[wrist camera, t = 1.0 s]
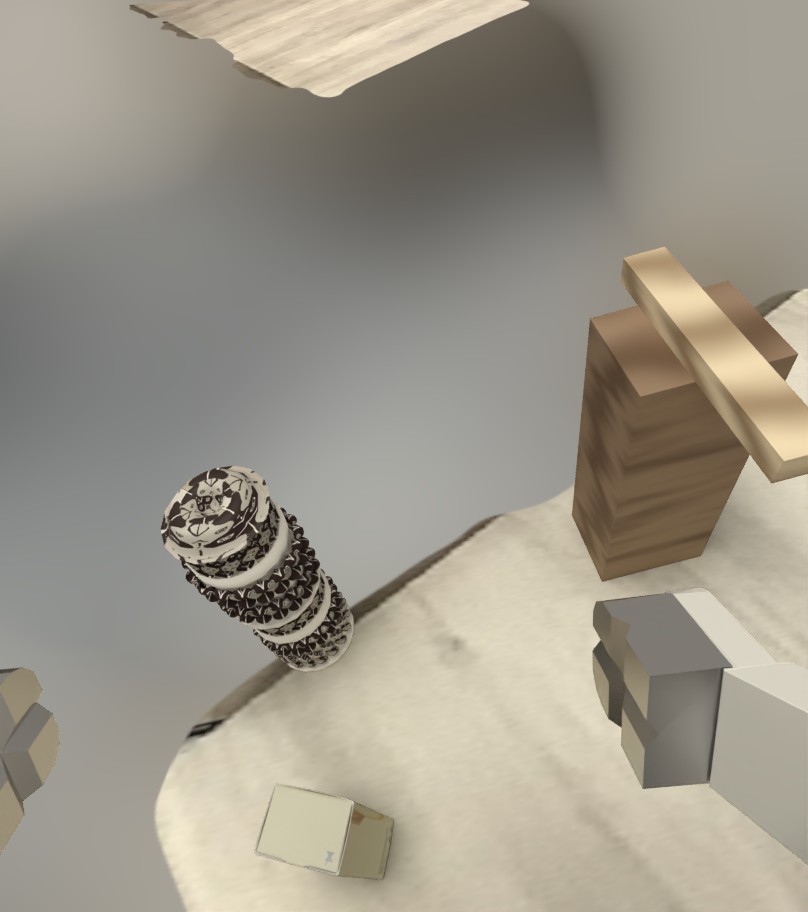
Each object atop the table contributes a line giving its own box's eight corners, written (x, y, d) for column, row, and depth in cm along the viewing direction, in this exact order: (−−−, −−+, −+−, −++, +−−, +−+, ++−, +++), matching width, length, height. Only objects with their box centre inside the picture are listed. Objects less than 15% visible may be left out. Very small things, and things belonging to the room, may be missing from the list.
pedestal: (700, 555, 56) (798, 354, 35) (602, 581, 57) (640, 396, 36) (662, 491, 61) (728, 280, 40) (572, 515, 62) (590, 318, 41)
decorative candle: (254, 650, 59) (114, 530, 39) (306, 575, 63) (203, 433, 44) (323, 693, 55) (205, 584, 35) (374, 611, 59) (293, 472, 40)
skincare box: (395, 818, 48) (360, 799, 38) (383, 882, 45) (342, 879, 36) (324, 801, 49) (273, 780, 40) (309, 862, 47) (251, 854, 37)
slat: (826, 468, 30) (842, 445, 29) (771, 483, 30) (784, 461, 29) (659, 270, 42) (664, 246, 41) (620, 281, 42) (623, 258, 41)
